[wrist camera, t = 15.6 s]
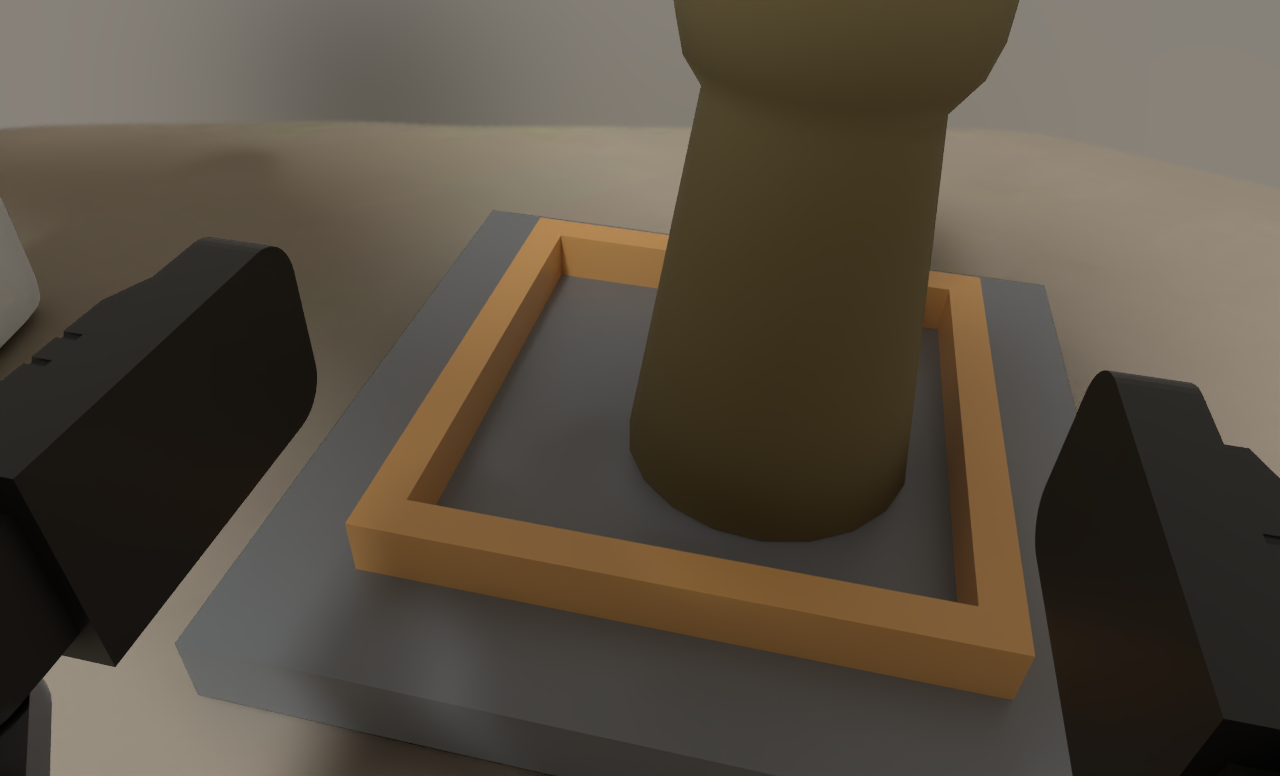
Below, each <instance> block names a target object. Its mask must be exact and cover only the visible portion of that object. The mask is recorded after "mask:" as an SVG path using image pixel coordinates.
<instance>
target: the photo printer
mask: <svg viewBox="0 0 1280 776" xmlns="http://www.w3.org/2000/svg"><path fill="white" fill-rule="evenodd" d="M39 302H40V292H39V288H38V283H37V280H36V277H35V274H34V272H33V270H32V267H31V265H30V263H29V260H28V258H27V256H26V254H25V252H24V249H23V247H22V245H21V243H20V240H19V238H18V235H17V233H16V231H15V228H14V226H13V223H12V221H11V219H10V217H9V215H8V212H7V210H6V208H5V205H4V203H3V201H2V199H1V197H0V348H1V347H2V346H3V345H4V344H5V343H6V342H7V341H8V340H9V339H10V338H11V337H12V336H13V335H14V333H15V332H16V331H17V330H18V329H19V328H20V327H21V326H22V325H23V324H24V323H25V322H26V321H27V320H28V319H29V317H30V316H31V315H32V313H33V312H34V311H35V310H36V308H37V307H38V305H39Z"/></svg>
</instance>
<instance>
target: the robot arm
mask: <svg viewBox="0 0 1280 776" xmlns="http://www.w3.org/2000/svg"><path fill="white" fill-rule="evenodd" d="M316 386H317V370H316V364H315V360H314V355H313V351H312V347H311V343H310V338H309V334H308V330H307V325H306V321H305V317H304V312H303V308H302V304H301V300H300V295H299V291H298V287H297V282H296V278H295V274H294V270H293V267H292V264H291V261H290V259H289V258H288V256H287V255H286V253H285V252H284V251H283V250H281V249H279V248H278V247H273V246H266V245H259V244H252V243H246V242H239V241H232V240H225V239H218V238H211V237H207V238H202V239H200V240H198V241H196V242H195V243H193V244H192V245H191V246H190V247H189V248H187V249H186V250H185V251H184V252H182V253H181V254H180V255H179V256H178V257H176V258H175V259H174V260H173V261H172V262H170V263H169V264H168V265H167V266H166V267H164V268H163V269H162V270H161V271H159V272H158V273H157V274H156V275H155V276H153V277H151V278H149V279H147V280H145V281H143V282H141V283H138V284H136V285H134V286H132V287H130V288H128V289H126V290H123V291H121V292H119V293H117V294H115V295H113V296H110V297H108V298H106V299H104V300H102V301H101V302H99V303H98V304H97V305H96V306H94V307H93V308H92V309H91V310H89V311H88V312H87V313H86V314H84V315H83V316H82V317H81V318H79V319H78V320H77V321H76V322H74V323H73V324H72V325H71V326H70V327H68V328H67V329H66V330H65V331H64V336H63V338H57V337H56V338H55V339H53V340H52V341H51V342H50V343H48V344H47V345H46V346H45V347H43V348H42V349H41V350H40V351H38V352H37V353H36V354H35V355H33V356H32V362H31V364H30V365H29V364H22V365H21V366H20V367H18V368H17V369H16V370H15V371H13V372H12V373H11V374H10V375H8V376H7V377H6V378H5V379H3V380H2V381H1V382H0V776H50V747H51V711H52V702H51V693H50V691H49V688H48V686H47V684H46V682H45V681H44V679H43V677H44V676H45V675H46V674H47V672H48V671H49V670H50V669H51V668H52V666H53V665H54V664H55V663H56V662H57V660H58V659H59V658H60V657H61V656H62V655H63V656H68V657H72V658H77V659H81V660H86V661H90V662H95V663H99V664H104V665H108V666H113V667H116V666H117V664H118V663H119V662H120V660H121V659H122V658H123V656H124V655H125V654H126V653H127V651H128V650H129V649H130V647H131V646H132V645H133V644H134V642H135V641H136V640H137V638H138V637H139V636H140V635H141V633H142V632H143V631H144V629H145V628H146V627H147V626H148V624H149V623H150V622H151V620H152V619H153V618H154V616H155V615H156V614H157V613H158V611H159V610H160V609H161V607H162V606H163V605H164V604H165V602H166V601H167V600H168V598H169V597H170V596H171V595H172V593H173V592H174V591H175V589H176V588H177V587H178V585H179V584H180V583H181V582H182V580H183V579H184V578H185V576H186V575H187V574H188V573H189V571H190V570H191V569H192V567H193V566H194V565H195V564H196V562H197V561H198V560H199V558H200V557H201V556H202V555H203V553H204V552H205V551H206V549H207V548H208V547H209V545H210V544H211V543H212V542H213V540H214V539H215V538H216V536H217V535H218V534H219V533H220V531H221V530H222V529H223V527H224V526H225V525H226V524H227V522H228V521H229V520H230V518H231V517H232V516H233V514H234V513H235V512H236V511H237V509H238V508H239V507H240V505H241V504H242V503H243V502H244V500H245V499H246V498H247V496H248V495H249V494H250V493H251V491H252V490H253V489H254V487H255V486H256V485H257V484H258V482H259V481H260V480H261V478H262V477H263V476H264V474H265V473H266V472H267V471H268V469H269V468H270V467H271V465H272V464H273V463H274V462H275V460H276V459H277V458H278V456H279V455H280V454H281V453H282V451H283V450H284V449H285V447H286V446H287V445H288V443H289V442H290V441H291V440H292V438H293V437H294V436H295V434H296V433H297V432H298V431H299V429H300V428H301V427H302V425H303V424H304V422H305V421H306V419H307V417H308V415H309V413H310V411H311V408H312V405H313V402H314V398H315V393H316ZM1035 552H1036V559H1037V565H1038V571H1039V577H1040V583H1041V589H1042V595H1043V601H1044V607H1045V613H1046V619H1047V625H1048V631H1049V637H1050V643H1051V649H1052V655H1053V661H1054V667H1055V673H1056V679H1057V685H1058V691H1059V697H1060V703H1061V709H1062V715H1063V721H1064V727H1065V733H1066V739H1067V745H1068V751H1069V757H1070V763H1071V769H1072V775H1073V776H1280V478H1279V477H1278V476H1277V475H1276V474H1275V473H1274V472H1273V471H1272V470H1271V469H1270V468H1269V467H1267V466H1266V465H1265V464H1264V463H1263V462H1262V461H1261V460H1260V459H1259V458H1258V457H1257V456H1256V455H1255V454H1254V453H1253V452H1252V451H1251V450H1250V449H1249V448H1243V447H1236V446H1230V445H1224V443H1223V441H1222V439H1221V436H1220V434H1219V432H1218V430H1217V427H1216V425H1215V423H1214V420H1213V418H1212V416H1211V413H1210V411H1209V409H1208V407H1207V404H1206V402H1205V400H1204V397H1203V395H1202V393H1201V391H1200V390H1199V388H1198V387H1197V386H1196V385H1194V384H1192V383H1188V382H1181V381H1175V380H1168V379H1161V378H1154V377H1147V376H1140V375H1134V374H1127V373H1120V372H1113V371H1105V370H1104V371H1101V372H1100V373H1098V374H1097V375H1096V376H1095V377H1094V379H1093V380H1092V382H1091V383H1090V385H1089V387H1088V389H1087V391H1086V393H1085V395H1084V398H1083V400H1082V402H1081V405H1080V407H1079V409H1078V412H1077V414H1076V416H1075V419H1074V421H1073V423H1072V425H1071V428H1070V430H1069V432H1068V435H1067V437H1066V439H1065V442H1064V444H1063V446H1062V449H1061V451H1060V453H1059V455H1058V458H1057V460H1056V462H1055V465H1054V467H1053V469H1052V472H1051V474H1050V476H1049V479H1048V481H1047V483H1046V485H1045V488H1044V491H1043V493H1042V497H1041V500H1040V504H1039V508H1038V513H1037V520H1036V529H1035Z"/></svg>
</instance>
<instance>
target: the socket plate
mask: <svg viewBox="0 0 1280 776" xmlns="http://www.w3.org/2000/svg"><path fill="white" fill-rule="evenodd" d="M668 239H669V234H664V233H657V232H650V231H642V230H635V229H628V228H620V227H613V226H606V225H598V224H591V223H584V222H576V221H569V220H562V219H554V218H547V217H540V216H532V215H525V214H518V213H510V212H503V211H496V210H493V211H492V212H491V214H490V215H489V217H488V218H487V219H486V221H485V222H484V223H483V225H482V226H481V227H480V229H479V230H478V231H477V233H476V234H475V236H474V237H473V238H472V240H471V241H470V242H469V244H468V245H467V246H466V248H465V249H464V251H463V252H462V253H461V255H460V256H459V257H458V259H457V260H456V261H455V263H454V264H453V265H452V267H451V268H450V270H449V271H448V272H447V274H446V275H445V276H444V278H443V279H442V280H441V282H440V283H439V285H438V286H437V287H436V289H435V290H434V291H433V293H432V294H431V295H430V297H429V298H428V299H427V301H426V302H425V304H424V305H423V306H422V308H421V309H420V310H419V312H418V313H417V314H416V316H415V317H414V319H413V320H412V321H411V323H410V324H409V325H408V327H407V328H406V329H405V331H404V332H403V333H402V335H401V336H400V338H399V339H398V340H397V342H396V343H395V344H394V346H393V347H392V348H391V350H390V351H389V353H388V354H387V355H386V357H385V358H384V359H383V361H382V362H381V363H380V365H379V366H378V367H377V369H376V370H375V372H374V373H373V374H372V376H371V377H370V378H369V380H368V381H367V382H366V384H365V385H364V387H363V388H362V389H361V391H360V392H359V393H358V395H357V396H356V397H355V399H354V400H353V402H352V403H351V404H350V406H349V407H348V408H347V410H346V411H345V412H344V414H343V415H342V416H341V418H340V419H339V421H338V422H337V423H336V425H335V426H334V427H333V429H332V430H331V431H330V433H329V434H328V436H327V437H326V438H325V440H324V441H323V442H322V444H321V445H320V446H319V448H318V449H317V450H316V452H315V453H314V455H313V456H312V457H311V459H310V460H309V461H308V463H307V464H306V465H305V467H304V468H303V470H302V471H301V472H300V474H299V475H298V476H297V478H296V479H295V480H294V482H293V483H292V484H291V486H290V487H289V489H288V490H287V491H286V493H285V494H284V495H283V497H282V498H281V499H280V501H279V502H278V504H277V505H276V506H275V508H274V509H273V510H272V512H271V513H270V514H269V516H268V517H267V518H266V520H265V521H264V523H263V524H262V525H261V527H260V528H259V529H258V531H257V532H256V533H255V535H254V536H253V538H252V539H251V540H250V542H249V543H248V544H247V546H246V547H245V548H244V550H243V551H242V552H241V554H240V555H239V557H238V558H237V559H236V561H235V562H234V563H233V565H232V566H231V567H230V569H229V570H228V572H227V573H226V574H225V576H224V577H223V578H222V580H221V581H220V582H219V584H218V585H217V586H216V588H215V589H214V591H213V592H212V593H211V595H210V596H209V597H208V599H207V600H206V601H205V603H204V604H203V606H202V607H201V608H200V610H199V611H198V612H197V614H196V615H195V616H194V618H193V619H192V621H191V622H190V623H189V625H188V626H187V627H186V629H185V630H184V631H183V633H182V634H181V635H180V637H179V638H178V640H177V641H176V642H175V646H176V648H177V650H178V652H179V654H180V656H181V658H182V661H183V663H184V665H185V667H186V669H187V671H188V674H189V676H190V678H191V680H192V682H193V684H194V687H195V689H196V691H197V693H198V695H201V696H206V697H210V698H215V699H219V700H223V701H228V702H232V703H237V704H241V705H246V706H250V707H254V708H259V709H263V710H268V711H272V712H276V713H281V714H285V715H290V716H294V717H298V718H303V719H307V720H312V721H316V722H320V723H325V724H329V725H334V726H338V727H342V728H347V729H351V730H356V731H360V732H364V733H369V734H373V735H378V736H382V737H386V738H391V739H395V740H400V741H404V742H408V743H413V744H417V745H422V746H426V747H430V748H435V749H439V750H444V751H448V752H452V753H457V754H461V755H466V756H470V757H474V758H479V759H483V760H488V761H492V762H496V763H501V764H505V765H510V766H514V767H518V768H523V769H527V770H532V771H536V772H540V773H545V774H549V775H554V776H1073V775H1072V769H1071V763H1070V757H1069V751H1068V745H1067V739H1066V733H1065V727H1064V721H1063V715H1062V709H1061V703H1060V697H1059V691H1058V685H1057V679H1056V673H1055V667H1054V661H1053V655H1052V649H1051V643H1050V637H1049V631H1048V625H1047V619H1046V613H1045V607H1044V601H1043V595H1042V589H1041V583H1040V577H1039V571H1038V565H1037V559H1036V552H1035V529H1036V520H1037V513H1038V508H1039V504H1040V500H1041V497H1042V493H1043V491H1044V488H1045V485H1046V483H1047V481H1048V479H1049V476H1050V474H1051V472H1052V469H1053V467H1054V465H1055V462H1056V460H1057V458H1058V455H1059V453H1060V451H1061V449H1062V446H1063V444H1064V442H1065V439H1066V437H1067V435H1068V432H1069V430H1070V428H1071V425H1072V423H1073V421H1074V419H1075V416H1076V410H1075V406H1074V402H1073V398H1072V394H1071V390H1070V386H1069V382H1068V378H1067V374H1066V370H1065V366H1064V362H1063V358H1062V354H1061V350H1060V346H1059V342H1058V338H1057V334H1056V330H1055V326H1054V322H1053V318H1052V314H1051V310H1050V306H1049V302H1048V298H1047V294H1046V290H1045V285H1038V284H1031V283H1023V282H1016V281H1009V280H1001V279H994V278H987V277H979V276H972V275H965V274H957V273H950V272H943V271H935V270H930V271H929V280H928V288H927V297H926V305H925V314H924V322H923V331H922V339H921V348H920V356H919V365H918V373H917V381H916V390H915V398H914V407H913V415H912V424H911V432H910V441H909V449H908V458H907V466H906V474H905V483H904V486H903V487H902V489H901V490H900V492H899V493H898V494H897V496H896V497H895V499H894V500H893V502H892V503H891V505H890V506H889V507H888V509H887V510H886V511H885V512H884V513H882V514H881V515H879V516H877V517H876V518H874V519H872V520H871V521H869V522H868V523H866V524H864V525H863V526H861V527H859V528H858V529H856V530H855V531H852V532H848V533H844V534H840V535H836V536H832V537H827V538H823V539H819V540H815V541H811V542H797V541H759V540H756V539H752V538H748V537H744V536H740V535H736V534H732V533H728V532H724V531H720V530H716V529H713V528H711V527H709V526H707V525H705V524H703V523H701V522H699V521H698V520H696V519H694V518H692V517H690V516H688V515H686V514H684V513H682V512H681V511H679V510H677V509H675V508H673V507H672V506H671V505H670V504H669V503H668V502H667V501H666V500H665V499H664V498H663V497H661V496H660V495H659V494H658V493H657V492H656V491H655V490H654V489H653V488H652V487H651V486H650V485H649V484H648V483H647V482H646V481H645V480H644V478H643V476H642V474H641V472H640V470H639V468H638V466H637V464H636V462H635V460H634V458H633V456H632V454H631V451H630V417H631V412H632V407H633V403H634V398H635V393H636V389H637V384H638V379H639V375H640V370H641V365H642V360H643V356H644V351H645V346H646V342H647V337H648V332H649V328H650V323H651V318H652V314H653V309H654V304H655V299H656V295H657V290H658V285H659V281H660V276H661V271H662V267H663V262H664V257H665V253H666V248H667V243H668Z"/></svg>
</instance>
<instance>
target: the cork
mask: <svg viewBox="0 0 1280 776" xmlns="http://www.w3.org/2000/svg"><path fill="white" fill-rule="evenodd" d="M1018 3H1019V0H674V5H675V12H676V18H677V24H678V30H679V35H680V41H681V47H682V53H683V55H684V57H685V59H686V61H687V62H688V64H689V66H690V67H691V69H692V71H693V72H694V74H695V76H696V77H697V79H698V81H699V82H700V84H701V88H700V93H699V98H698V103H697V108H696V112H695V117H694V121H693V126H692V131H691V135H690V140H689V145H688V149H687V154H686V159H685V164H684V168H683V173H682V178H681V182H680V187H679V192H678V196H677V201H676V206H675V210H674V215H673V220H672V224H671V229H670V234H669V239H668V243H667V248H666V253H665V257H664V262H663V267H662V271H661V276H660V281H659V285H658V290H657V295H656V299H655V304H654V309H653V314H652V318H651V323H650V328H649V332H648V337H647V342H646V346H645V351H644V356H643V360H642V365H641V370H640V375H639V379H638V384H637V389H636V393H635V398H634V403H633V407H632V412H631V417H630V451H631V454H632V456H633V458H634V460H635V462H636V464H637V466H638V468H639V470H640V472H641V474H642V476H643V478H644V480H645V481H646V482H647V483H648V484H649V485H650V486H651V487H652V488H653V489H654V490H655V491H656V492H657V493H658V494H659V495H660V496H661V497H663V498H664V499H665V500H666V501H667V502H668V503H669V504H670V505H671V506H672V507H673V508H675V509H677V510H679V511H681V512H682V513H684V514H686V515H688V516H690V517H692V518H694V519H696V520H698V521H699V522H701V523H703V524H705V525H707V526H709V527H711V528H713V529H716V530H720V531H724V532H728V533H732V534H736V535H740V536H744V537H748V538H752V539H756V540H759V541H797V542H811V541H815V540H819V539H823V538H827V537H832V536H836V535H840V534H844V533H848V532H852V531H855V530H856V529H858V528H859V527H861V526H863V525H864V524H866V523H868V522H869V521H871V520H872V519H874V518H876V517H877V516H879V515H881V514H882V513H884V512H885V511H886V510H887V509H888V507H889V506H890V505H891V503H892V502H893V500H894V499H895V497H896V496H897V494H898V493H899V492H900V490H901V489H902V487H903V486H904V483H905V474H906V466H907V458H908V449H909V441H910V432H911V424H912V415H913V407H914V398H915V390H916V381H917V373H918V365H919V356H920V348H921V339H922V331H923V322H924V314H925V305H926V297H927V288H928V280H929V271H930V263H931V255H932V246H933V238H934V229H935V221H936V212H937V204H938V195H939V187H940V178H941V170H942V161H943V153H944V145H945V136H946V128H947V119H948V114H949V113H950V112H951V111H952V110H954V109H955V108H956V107H957V106H958V105H959V104H960V103H961V102H962V101H964V100H965V99H966V98H967V97H968V96H969V95H970V94H971V93H972V92H973V91H975V90H976V89H977V88H978V87H979V86H980V85H981V84H982V83H983V82H985V81H986V79H987V77H988V75H989V73H990V72H991V70H992V68H993V66H994V64H995V63H996V61H997V59H998V57H999V55H1000V53H1001V52H1002V50H1003V48H1004V47H1005V45H1006V43H1007V40H1008V36H1009V33H1010V30H1011V27H1012V23H1013V20H1014V17H1015V13H1016V10H1017V7H1018Z"/></svg>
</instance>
